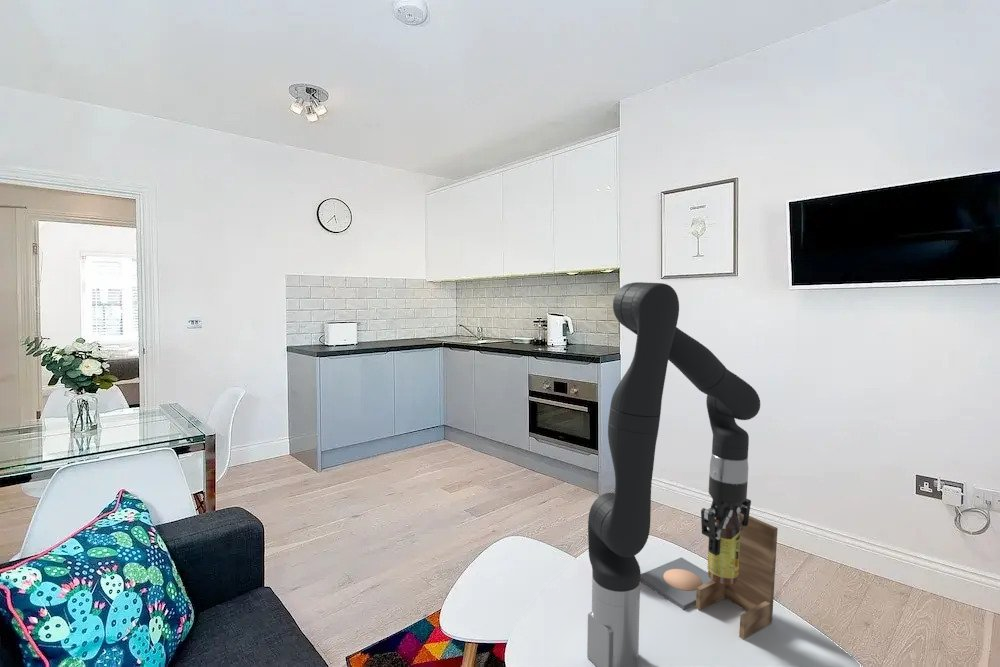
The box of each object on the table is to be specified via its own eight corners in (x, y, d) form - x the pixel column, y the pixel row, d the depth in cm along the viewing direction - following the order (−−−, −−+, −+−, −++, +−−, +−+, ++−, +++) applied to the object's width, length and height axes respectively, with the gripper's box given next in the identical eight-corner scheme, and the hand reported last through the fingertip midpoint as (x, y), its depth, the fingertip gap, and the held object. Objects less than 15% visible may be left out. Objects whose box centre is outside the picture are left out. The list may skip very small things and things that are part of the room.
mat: (683, 609, 117) (683, 605, 116) (638, 578, 129) (638, 574, 128) (727, 587, 125) (727, 583, 124) (681, 560, 137) (681, 556, 136)
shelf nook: (743, 639, 107) (748, 540, 104) (695, 607, 117) (699, 517, 115) (772, 622, 112) (777, 528, 110) (723, 593, 122) (728, 506, 120)
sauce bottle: (741, 588, 108) (746, 499, 105) (710, 585, 109) (714, 496, 107) (733, 571, 114) (738, 486, 112) (704, 568, 115) (708, 484, 113)
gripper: (722, 488, 102) (717, 567, 104) (765, 474, 109) (760, 548, 111) (691, 475, 108) (687, 550, 110) (733, 463, 116) (729, 533, 118)
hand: (724, 549), depth 111 cm, fingers closed on sauce bottle, 6 cm apart
